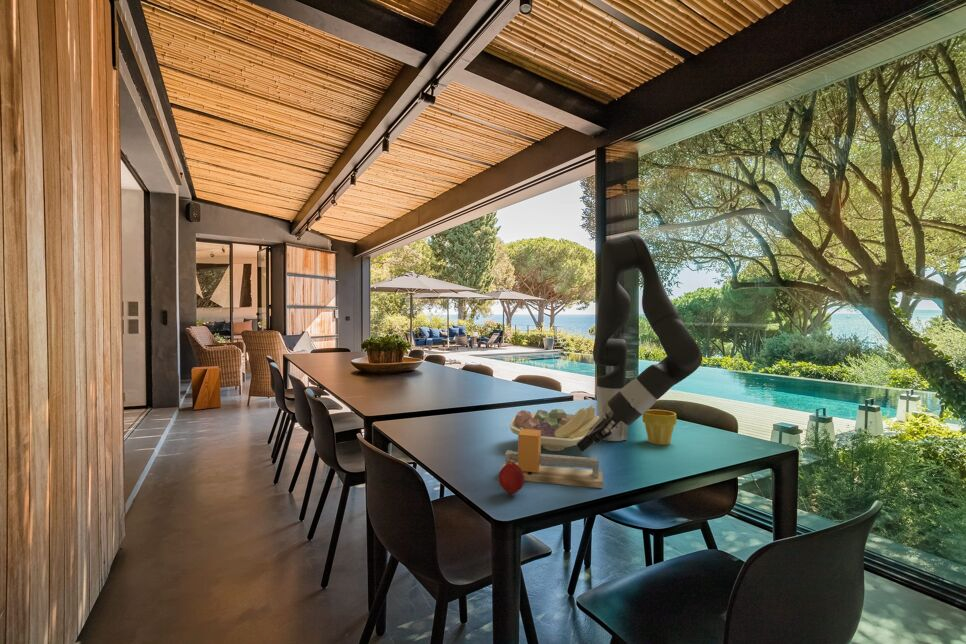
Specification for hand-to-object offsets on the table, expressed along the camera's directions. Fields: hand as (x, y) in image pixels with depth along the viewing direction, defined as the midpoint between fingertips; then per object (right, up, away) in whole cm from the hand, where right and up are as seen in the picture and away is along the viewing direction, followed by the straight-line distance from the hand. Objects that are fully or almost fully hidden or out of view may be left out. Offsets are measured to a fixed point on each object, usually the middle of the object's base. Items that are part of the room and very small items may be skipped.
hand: (579, 448), depth 114 cm
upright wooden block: (-12, -6, +3) cm, 14 cm away
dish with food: (-2, -8, +27) cm, 28 cm away
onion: (-17, -8, -10) cm, 22 cm away
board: (-7, -8, +2) cm, 11 cm away
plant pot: (+33, -8, +36) cm, 50 cm away
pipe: (-7, -6, +2) cm, 9 cm away
